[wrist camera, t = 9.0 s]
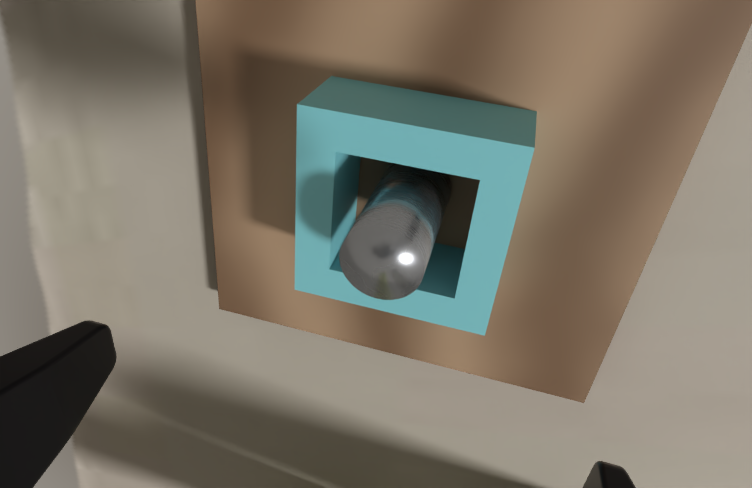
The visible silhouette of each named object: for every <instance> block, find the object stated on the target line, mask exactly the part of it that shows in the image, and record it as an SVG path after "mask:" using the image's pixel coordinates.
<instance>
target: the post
mask: <svg viewBox="0 0 752 488" xmlns="http://www.w3.org/2000/svg"><path fill="white" fill-rule="evenodd" d="M450 195H451V181H450V178H449V176H448V174H446V173H441V172H436V171H431V170H426V169H421V168H416V167H411V166H406V165H401V164H395V163H391V164H390V165H389V167H388V168H387V170H386V171H385V173H384V175H383V176H382V178H381V180H380V181H379V183H378V185H377V186H376V188H375V190H374V191H373V193H372V195H371V196H370V198H369V200H368V201H367V203H366V205H365V206H364V208H363V210H362V211H361V213H360V215H359V216H358V218H357V220H356V221H355V223H354V225H353V227H352V228H351V230H350V232H349V233H348V235H347V237H346V238H345V240H344V242H343V244H342V245H341V248H340V253H339V261H340V266H341V269H342V271H343V274H344V275H345V277H346V278H347V280H348V281H349V282H350V283H351V284H352V285H353V286H354V287H355V288H356V289H357V290H359V291H360V292H362V293H364V294H366V295H368V296H370V297H373V298H377V299H382V300H395V299H400V298H403V297H406V296H408V295H410V294H411V293H413V292H414V291H415V290H416V289H417V288H418V287H419V285H420V284H421V281H422V279H423V276H424V273H425V270H426V267H427V264H428V261H429V258H430V255H431V252H432V249H433V246H434V243H435V240H436V237H437V234H438V231H439V228H440V225H441V222H442V219H443V216H444V213H445V210H446V207H447V204H448V201H449V198H450Z"/></svg>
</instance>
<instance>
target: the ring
mask: <svg viewBox="0 0 752 488" xmlns="http://www.w3.org/2000/svg"><path fill="white" fill-rule="evenodd" d="M536 119H537V111H532V110H526V109H520V108H514V107H508V106H503V105H497V104H491V103H485V102H480V101H474V100H468V99H462V98H456V97H451V96H445V95H439V94H433V93H427V92H422V91H416V90H410V89H404V88H398V87H393V86H387V85H381V84H375V83H369V82H364V81H358V80H352V79H346V78H340V77H335V76H331V77H329V78H328V79H327V80H326V81H325V82H323V83H322V84H321V85H320V86H319V87H317V88H316V89H315V90H314V91H312V92H311V93H310V94H309V95H308V96H306V97H305V98H304V99H303V100H302V101H300V102H299V103H298V104H297V138H296V215H295V290H298V291H302V292H306V293H311V294H315V295H319V296H323V297H327V298H331V299H335V300H339V301H344V302H348V303H352V304H356V305H360V306H364V307H368V308H372V309H377V310H381V311H385V312H389V313H393V314H397V315H401V316H405V317H409V318H414V319H418V320H422V321H426V322H430V323H434V324H438V325H442V326H447V327H451V328H455V329H459V330H463V331H467V332H471V333H475V334H480V335H484V336H485V333H486V329H487V326H488V322H489V318H490V314H491V311H492V307H493V303H494V299H495V296H496V292H497V288H498V284H499V281H500V277H501V273H502V269H503V265H504V262H505V258H506V254H507V250H508V247H509V243H510V239H511V235H512V232H513V228H514V224H515V220H516V217H517V213H518V209H519V205H520V201H521V198H522V194H523V190H524V186H525V183H526V179H527V175H528V171H529V168H530V164H531V160H532V156H533V153H534V149H535V135H536ZM361 157H365V158H370V159H375V160H380V161H385V162H390V163H395V164H401V165H406V166H411V167H416V168H421V169H426V170H431V171H436V172H441V173H446V174H452V175H457V176H462V177H467V178H472V179H477V180H480V183H479V188H478V192H477V197H476V202H475V206H474V211H473V216H472V220H471V225H470V229H469V234H468V239H467V243H466V248H465V249H462V248H457V247H453V246H448V245H444V244H439V243H434V246H433V249H432V252H431V255H430V258H429V261H428V264H427V267H426V270H425V273H424V276H423V279H422V281H421V284H420V285H419V287H418V288H417V289H416V290H415V291H414V292H413V293H411V294H410V295H408V296H406V297H403V298H400V299H395V300H382V299H377V298H373V297H370V296H368V295H366V294H364V293H362V292H360V291H359V290H357V289H356V288H355V287H354V286H353V285H352V284H351V283H350V282H349V281H348V280H347V278H346V277H345V275H344V274H343V271H342V269H341V266H340V261H339V253H340V248H341V245H342V244H343V242H344V240H345V238H346V237H347V235H348V233H349V232H350V230H351V228H352V227H353V225H354V223H355V220H356V208H357V196H358V184H359V172H360V159H361Z"/></svg>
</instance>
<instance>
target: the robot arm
mask: <svg viewBox="0 0 752 488" xmlns="http://www.w3.org/2000/svg"><path fill="white" fill-rule="evenodd" d="M115 362H116V351H115V347H114V343H113V338H112V334H111V330H110V328H109V327H108V326H107V325H105V324H102V323H98V322H95V321H90V320H89V321H83V322H81V323H78V324H76V325H74V326H71V327H69V328H67V329H64V330H62V331H59V332H57V333H55V334H52V335H50V336H48V337H45V338H43V339H41V340H38V341H36V342H33V343H31V344H29V345H26V346H24V347H22V348H19V349H17V350H15V351H12V352H10V353H8V354H5V355H3V356H0V488H33V487H34V485H35V484H36V483H37V481H38V480H39V479H40V478H41V476H42V475H43V473H44V472H45V471H46V469H47V468H48V467H49V466H50V464H51V463H52V462H53V460H54V459H55V458H56V456H57V455H58V453H59V452H60V451H61V450H62V448H63V447H64V446H65V444H66V443H67V441H68V440H69V439H70V437H71V436H72V434H73V433H74V431H75V430H76V428H77V427H78V425H79V423H80V422H81V420H82V419H83V417H84V415H85V414H86V412H87V410H88V409H89V407H90V405H91V404H92V402H93V401H94V399H95V397H96V396H97V394H98V392H99V391H100V389H101V388H102V386H103V384H104V383H105V381H106V379H107V378H108V376H109V374H110V373H111V371H112V370H113V368H114V365H115ZM583 488H636V487H635V486H634V484H633V482H632V480H631V479H630V477H629V475H628V474H627V472H626V471H625V470H624V469H623V468H622V467H620V466H617V465H614V464H610V463H607V462H603V461H598V462H596V463H595V464H594V466H593V468H592V470H591V472H590V474H589V476H588V478H587V480H586V482H585V484H584V486H583Z"/></svg>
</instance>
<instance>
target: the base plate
mask: <svg viewBox="0 0 752 488" xmlns="http://www.w3.org/2000/svg"><path fill="white" fill-rule="evenodd" d="M195 2H196V15H197V27H198V40H199V53H200V66H201V79H202V92H203V104H204V117H205V130H206V143H207V156H208V169H209V181H210V194H211V207H212V220H213V233H214V246H215V258H216V271H217V284H218V297H219V309H222V310H226V311H230V312H234V313H238V314H242V315H245V316H249V317H253V318H257V319H261V320H265V321H269V322H273V323H276V324H280V325H284V326H288V327H292V328H296V329H300V330H304V331H307V332H311V333H315V334H319V335H323V336H327V337H331V338H335V339H338V340H342V341H346V342H350V343H354V344H358V345H362V346H366V347H369V348H373V349H377V350H381V351H385V352H389V353H393V354H397V355H400V356H404V357H408V358H412V359H416V360H420V361H424V362H428V363H431V364H435V365H439V366H443V367H447V368H451V369H455V370H459V371H462V372H466V373H470V374H474V375H478V376H482V377H486V378H490V379H493V380H497V381H501V382H505V383H509V384H513V385H517V386H520V387H524V388H528V389H532V390H536V391H540V392H544V393H548V394H551V395H555V396H559V397H563V398H567V399H571V400H575V401H579V402H582V403H584V402H585V399H586V397H587V395H588V392H589V390H590V388H591V386H592V383H593V381H594V379H595V377H596V374H597V372H598V370H599V368H600V365H601V363H602V361H603V359H604V356H605V354H606V352H607V349H608V347H609V345H610V343H611V340H612V338H613V336H614V334H615V331H616V329H617V327H618V325H619V322H620V320H621V318H622V316H623V313H624V311H625V309H626V307H627V304H628V302H629V300H630V297H631V295H632V293H633V291H634V288H635V286H636V284H637V282H638V279H639V277H640V275H641V273H642V270H643V268H644V266H645V264H646V261H647V259H648V257H649V254H650V252H651V250H652V248H653V245H654V243H655V241H656V239H657V236H658V234H659V232H660V230H661V227H662V225H663V223H664V221H665V218H666V216H667V214H668V212H669V209H670V207H671V205H672V202H673V200H674V198H675V196H676V193H677V191H678V189H679V187H680V184H681V182H682V180H683V178H684V175H685V173H686V171H687V169H688V166H689V164H690V162H691V159H692V157H693V155H694V153H695V150H696V148H697V146H698V144H699V141H700V139H701V137H702V135H703V132H704V130H705V128H706V126H707V123H708V121H709V119H710V117H711V114H712V112H713V110H714V107H715V105H716V103H717V101H718V98H719V96H720V94H721V92H722V89H723V87H724V85H725V83H726V80H727V78H728V76H729V74H730V71H731V69H732V67H733V64H734V62H735V60H736V58H737V55H738V53H739V51H740V49H741V46H742V44H743V42H744V40H745V37H746V35H747V33H748V31H749V28H750V26H751V24H752V0H195ZM331 76H335V77H340V78H346V79H352V80H358V81H364V82H369V83H375V84H381V85H387V86H393V87H398V88H404V89H410V90H416V91H422V92H427V93H433V94H439V95H445V96H451V97H456V98H462V99H468V100H474V101H480V102H485V103H491V104H497V105H503V106H508V107H514V108H520V109H526V110H532V111H537V119H536V135H535V149H534V153H533V156H532V160H531V164H530V168H529V171H528V175H527V179H526V183H525V186H524V190H523V194H522V198H521V201H520V205H519V209H518V213H517V217H516V220H515V224H514V228H513V232H512V235H511V239H510V243H509V247H508V250H507V254H506V258H505V262H504V265H503V269H502V273H501V277H500V281H499V284H498V288H497V292H496V296H495V299H494V303H493V307H492V311H491V314H490V318H489V322H488V326H487V329H486V333H485V336H484V335H480V334H475V333H471V332H467V331H463V330H459V329H455V328H451V327H447V326H442V325H438V324H434V323H430V322H426V321H422V320H418V319H414V318H409V317H405V316H401V315H397V314H393V313H389V312H385V311H381V310H377V309H372V308H368V307H364V306H360V305H356V304H352V303H348V302H344V301H339V300H335V299H331V298H327V297H323V296H319V295H315V294H311V293H306V292H302V291H298V290H295V215H296V138H297V104H298V103H299V102H300V101H302V100H303V99H304V98H305V97H306V96H308V95H309V94H310V93H311V92H312V91H314V90H315V89H316V88H317V87H319V86H320V85H321V84H322V83H323V82H325V81H326V80H327V79H328V78H329V77H331ZM390 164H391V163H390V162H385V161H380V160H375V159H370V158H365V157H361V159H360V172H359V184H358V196H357V208H356V220H357V218H358V216H359V215H360V213H361V211H362V210H363V208H364V206H365V205H366V203H367V201H368V200H369V198H370V196H371V195H372V193H373V191H374V190H375V188H376V186H377V185H378V183H379V181H380V180H381V178H382V176H383V175H384V173H385V171H386V170H387V168H388V167H389V165H390ZM448 176H449V178H450V181H451V195H450V198H449V201H448V204H447V207H446V210H445V213H444V216H443V219H442V222H441V225H440V228H439V231H438V234H437V237H436V240H435V243H439V244H444V245H448V246H453V247H457V248H462V249H465V248H466V243H467V239H468V234H469V229H470V225H471V220H472V216H473V211H474V206H475V202H476V197H477V192H478V188H479V183H480V180H477V179H472V178H467V177H462V176H457V175H452V174H448ZM356 220H355V221H356Z"/></svg>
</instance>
